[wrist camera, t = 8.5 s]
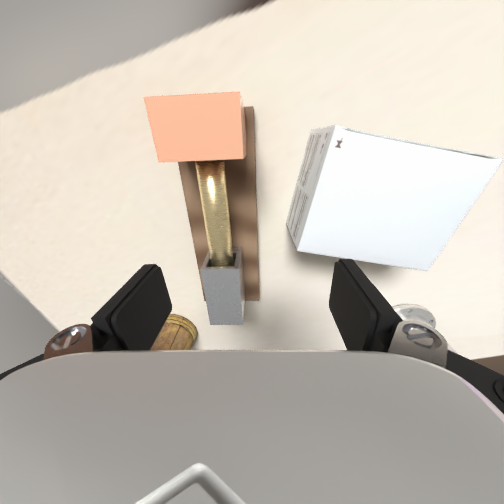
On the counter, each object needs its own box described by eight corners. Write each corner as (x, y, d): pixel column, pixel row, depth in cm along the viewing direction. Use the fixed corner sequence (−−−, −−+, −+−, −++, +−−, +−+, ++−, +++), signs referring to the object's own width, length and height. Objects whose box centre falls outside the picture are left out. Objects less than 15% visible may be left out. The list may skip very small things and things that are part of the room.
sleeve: (245, 296, 37) (243, 324, 31) (217, 296, 37) (210, 324, 31) (241, 246, 32) (238, 268, 27) (210, 247, 32) (200, 269, 27)
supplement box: (284, 224, 32) (294, 252, 24) (309, 128, 26) (334, 122, 18) (386, 242, 33) (429, 274, 25) (433, 153, 27) (510, 157, 19)
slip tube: (237, 278, 32) (235, 292, 29) (216, 279, 33) (212, 293, 30) (223, 126, 23) (219, 124, 20) (193, 128, 23) (184, 126, 20)
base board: (259, 294, 39) (259, 300, 37) (206, 295, 39) (204, 301, 38) (253, 108, 25) (253, 106, 24) (172, 112, 25) (168, 110, 24)
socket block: (246, 154, 26) (243, 158, 19) (184, 157, 26) (158, 162, 19) (244, 106, 24) (239, 91, 17) (176, 110, 24) (143, 97, 17)
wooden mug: (183, 359, 48) (147, 466, 32) (145, 322, 43) (79, 428, 27) (215, 349, 46) (194, 457, 30) (180, 308, 41) (131, 414, 25)
